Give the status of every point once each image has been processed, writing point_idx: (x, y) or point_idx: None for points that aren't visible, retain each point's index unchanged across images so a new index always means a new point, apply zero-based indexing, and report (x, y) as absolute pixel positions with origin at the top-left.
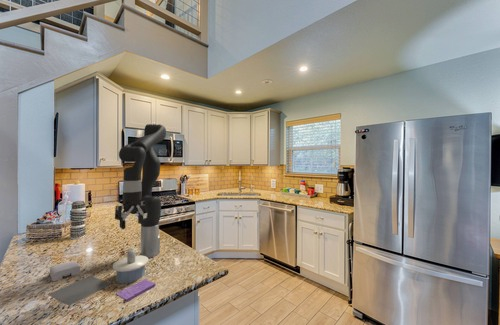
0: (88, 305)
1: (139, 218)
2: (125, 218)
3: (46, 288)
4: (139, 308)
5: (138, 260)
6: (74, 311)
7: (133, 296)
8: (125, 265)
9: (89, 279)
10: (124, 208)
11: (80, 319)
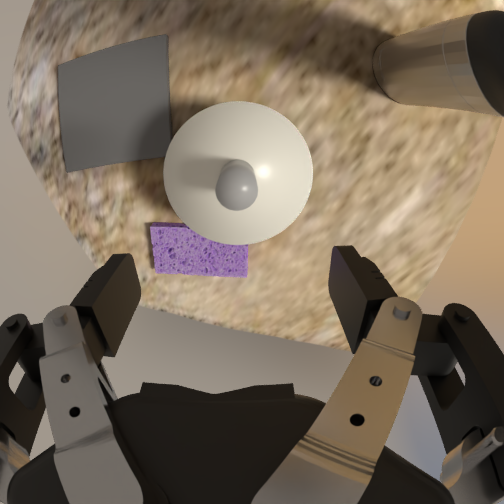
0: (98, 198)
1: (348, 300)
2: (106, 376)
3: (80, 13)
4: (166, 309)
5: (264, 191)
6: (74, 195)
7: (175, 272)
8: (202, 185)
9: (148, 59)
10: (55, 469)
11: (76, 237)
